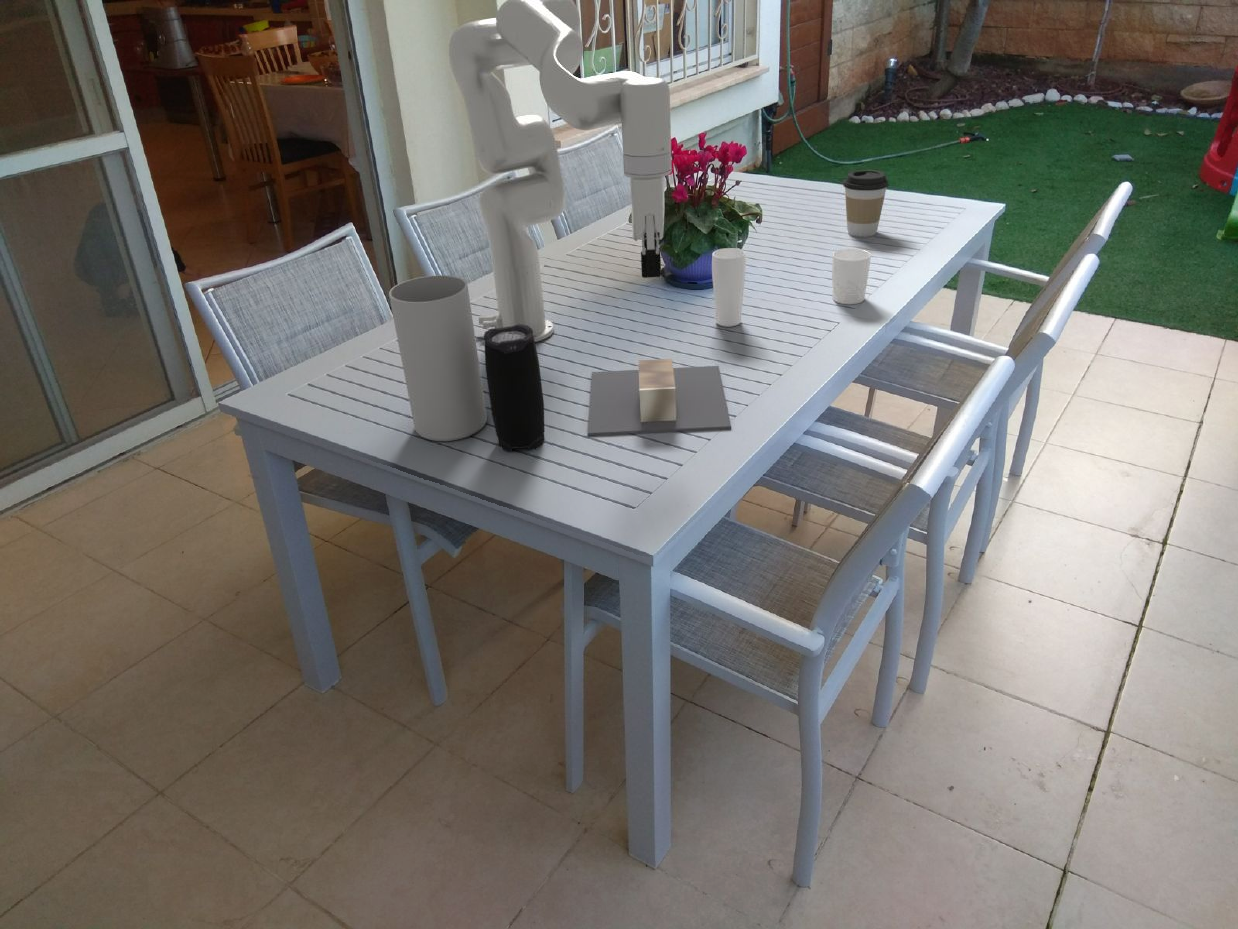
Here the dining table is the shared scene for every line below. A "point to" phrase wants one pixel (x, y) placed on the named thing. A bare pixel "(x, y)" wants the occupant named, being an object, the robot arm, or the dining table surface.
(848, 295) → the white cup
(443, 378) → the cylinder vase
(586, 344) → the dining table surface
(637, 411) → the rubber mat
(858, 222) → the coffee cup
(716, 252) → the drinking glass
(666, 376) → the wooden box
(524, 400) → the portable speaker
